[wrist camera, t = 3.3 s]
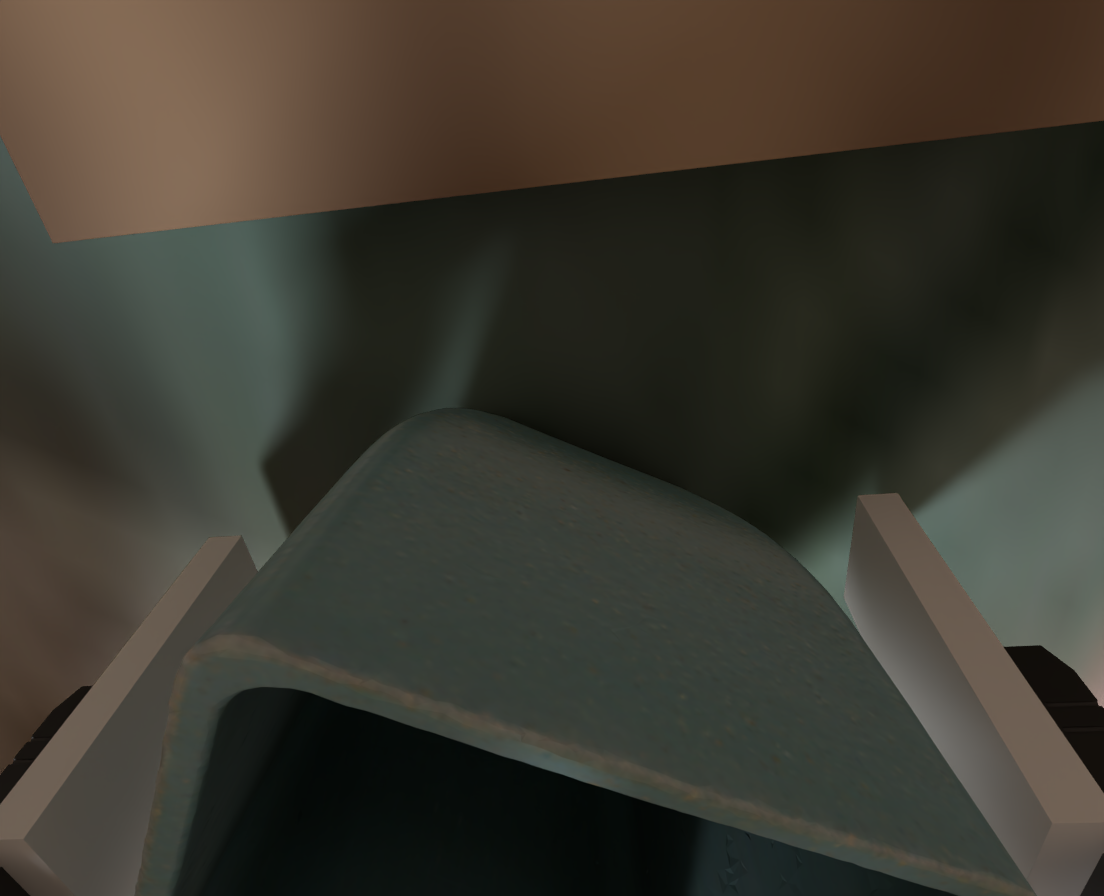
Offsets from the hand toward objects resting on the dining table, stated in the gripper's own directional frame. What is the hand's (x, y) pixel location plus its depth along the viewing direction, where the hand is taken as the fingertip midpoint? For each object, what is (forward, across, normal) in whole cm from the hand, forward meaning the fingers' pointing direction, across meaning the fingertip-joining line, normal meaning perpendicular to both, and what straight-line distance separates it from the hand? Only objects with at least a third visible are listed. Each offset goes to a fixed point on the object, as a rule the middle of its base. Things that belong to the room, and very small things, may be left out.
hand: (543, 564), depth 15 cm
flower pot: (+2, 0, 0) cm, 2 cm away
